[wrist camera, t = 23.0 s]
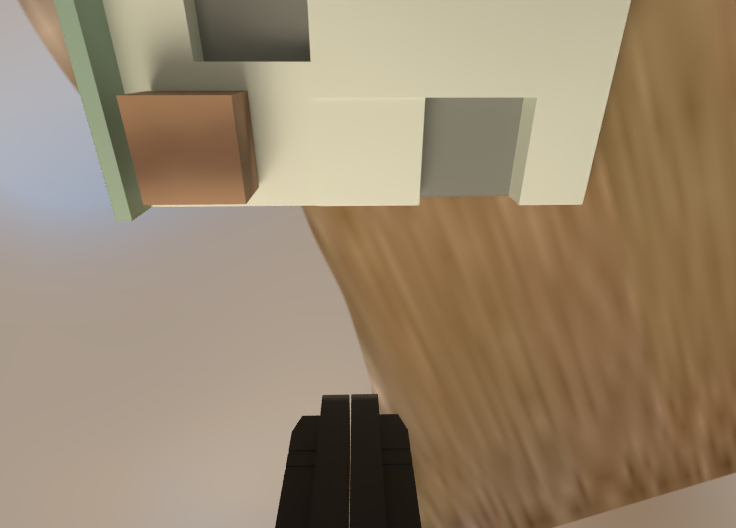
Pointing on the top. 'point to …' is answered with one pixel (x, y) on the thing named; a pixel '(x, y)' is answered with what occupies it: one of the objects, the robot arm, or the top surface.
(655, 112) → the top surface
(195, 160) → the walnut block
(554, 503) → the top surface
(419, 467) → the top surface
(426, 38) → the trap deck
